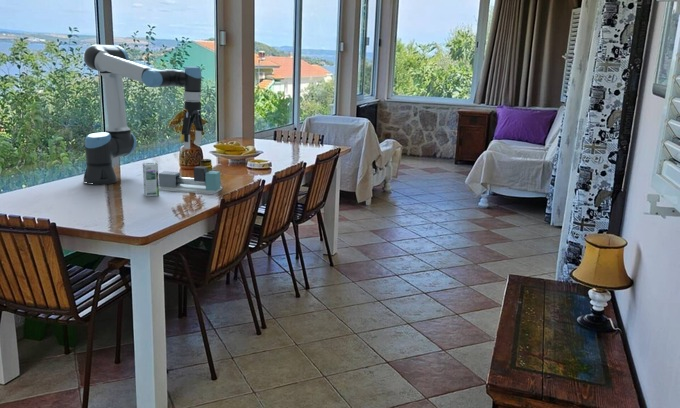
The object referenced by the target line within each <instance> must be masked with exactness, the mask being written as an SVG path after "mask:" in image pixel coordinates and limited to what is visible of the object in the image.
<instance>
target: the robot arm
mask: <svg viewBox="0 0 680 408" xmlns="http://www.w3.org/2000/svg"><path fill="white" fill-rule="evenodd" d="M83 61H84V64H85V65H86V67H88V68H89V69H91V70H95V71H98V72H99V75H101V76H102V77H103V84H104V94H105V106H106V113H107V124H108V127H107V128H106V130H105V131H103V132H102V131H100V132H94V133H89V134H88V135H86V137H85V139H84V149H85V161H86V162H85V163H86V164H85V165H86V167H85V171H84V175H83V177H82V178H83V179H82V180H83V183H84V182H87V183H93V184H105V185H111V184H114V183H117V182H118V176H117V174H116V171H115V169H114V167H113V159H115V158H120V157H127V156H130V155H132V154H133V153H134V152H135V150H136V149H137V143H138V141H137V138H136V136H135V135H134V133H132V132H131V128H130V127H129V126H128V124H127V123H128V122H127V113H126V101H125V94H124V93H125V92H124V91H125V90H124V80H123V79H124V78H126V79H131V80H133V81H136V82H138V83H143V84H144V85H145V86H146V87H148V88H162V87H163V88H164V87H165V88H166V87H182V88H184V92H183V93H184V110H187V112H184V117H183V122H182V123H183V124H182V129H181V135H183V149H184V150H190V149H191V131H192V130H191V129H192V126H193V125H194V127H195V133H194V134H195V136H194V137H195V138H194V141H195V143H194V144H195V145H200V146H201V145H202V132H204V124H203V119H202V97H203V94H202V77H203V76H202V69H201V67H199V66H191V65H190V66H184V69H182V70H181V69H174V68H166V69H157V68H153V67H149V66H147V65H145V64H144V65H143V64H140V63H137V62H134V61H131V60H130V56H129V54H128V52H127V51H126V50H125V49H124V48H123V46H119V45H115V44H93V45H92V44H91V45H90V46H88V47H86V48H85V50H84V52H83ZM123 77H124V78H123Z"/></svg>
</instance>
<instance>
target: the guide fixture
mask: <svg viewBox="0 0 680 408" xmlns="http://www.w3.org/2000/svg"><path fill="white" fill-rule="evenodd" d="M176 177H181V172H180V171H167V170H166V171H165V170H164V171H161V172H158V180H159V191H166V192H167V191H168V192H179V193H180V192H181V193H191V194H194V193H195V194H203V195H204V194H205V195H215V194H217V193H218V192H220V191H221V190H223V186H221V171H216V170H212V171H209V172H207V173H206V186H198V185H185V184H176Z"/></svg>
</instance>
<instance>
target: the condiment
mask: <svg viewBox="0 0 680 408" xmlns="http://www.w3.org/2000/svg"><path fill="white" fill-rule="evenodd" d="M199 166H202V167H207V168H208V172H209V171H213V164H212V159H210V158H203V159H201V160H200V164H199Z"/></svg>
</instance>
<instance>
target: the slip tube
mask: <svg viewBox="0 0 680 408" xmlns="http://www.w3.org/2000/svg"><path fill="white" fill-rule="evenodd" d="M207 172H208V168H207V167H202V166H200V165H198V166H197V165H196V166H194V167H193V177H184V176H180V177H176V184H185V185H198V186H206V173H207Z"/></svg>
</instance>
